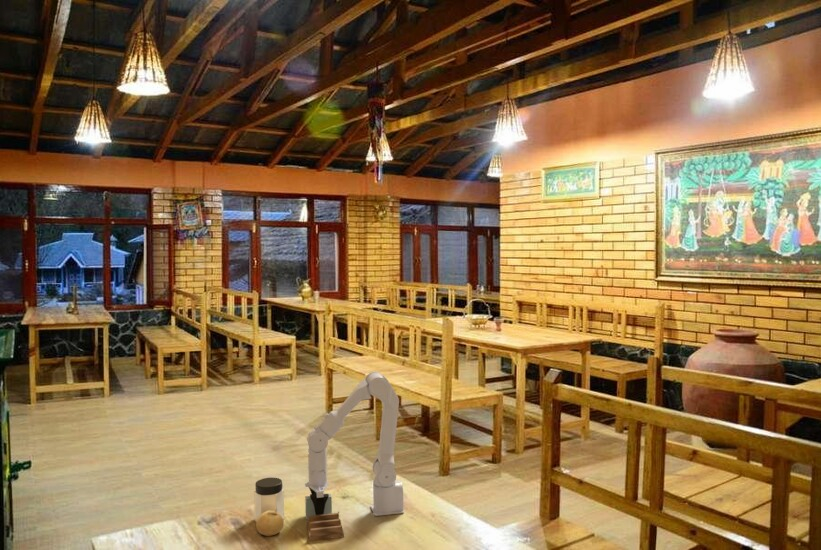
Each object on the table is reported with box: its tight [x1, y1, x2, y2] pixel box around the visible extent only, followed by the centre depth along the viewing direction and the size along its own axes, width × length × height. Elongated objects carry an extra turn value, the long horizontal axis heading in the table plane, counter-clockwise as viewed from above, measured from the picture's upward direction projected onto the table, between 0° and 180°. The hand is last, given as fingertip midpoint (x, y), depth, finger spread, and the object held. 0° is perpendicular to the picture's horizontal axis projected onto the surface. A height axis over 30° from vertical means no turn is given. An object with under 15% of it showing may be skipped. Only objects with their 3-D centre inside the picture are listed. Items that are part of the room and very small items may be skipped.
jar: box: [253, 477, 285, 522], centre depth 201 cm, size 9×8×12 cm
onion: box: [255, 510, 285, 537], centre depth 192 cm, size 8×8×7 cm
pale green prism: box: [304, 493, 333, 521], centre depth 203 cm, size 8×2×6 cm, turn 103°
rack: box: [306, 512, 345, 542], centre depth 193 cm, size 10×10×3 cm
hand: (318, 511), depth 203 cm, fingers open, 7 cm apart
